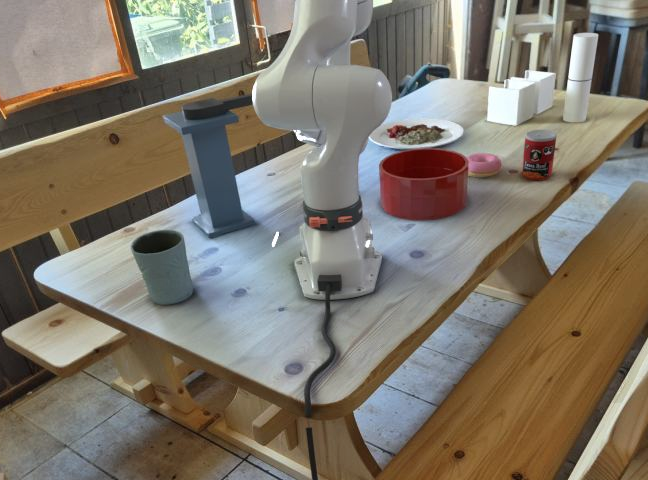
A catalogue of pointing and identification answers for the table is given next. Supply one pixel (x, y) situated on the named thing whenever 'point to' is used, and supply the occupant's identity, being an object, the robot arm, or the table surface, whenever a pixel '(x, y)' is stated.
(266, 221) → the table surface
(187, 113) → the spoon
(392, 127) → the plated food
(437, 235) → the table surface
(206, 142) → the stand
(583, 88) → the cylindrical container
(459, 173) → the pot
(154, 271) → the green cup
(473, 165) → the doughnut
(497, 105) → the storage container
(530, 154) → the canned food
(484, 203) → the table surface
